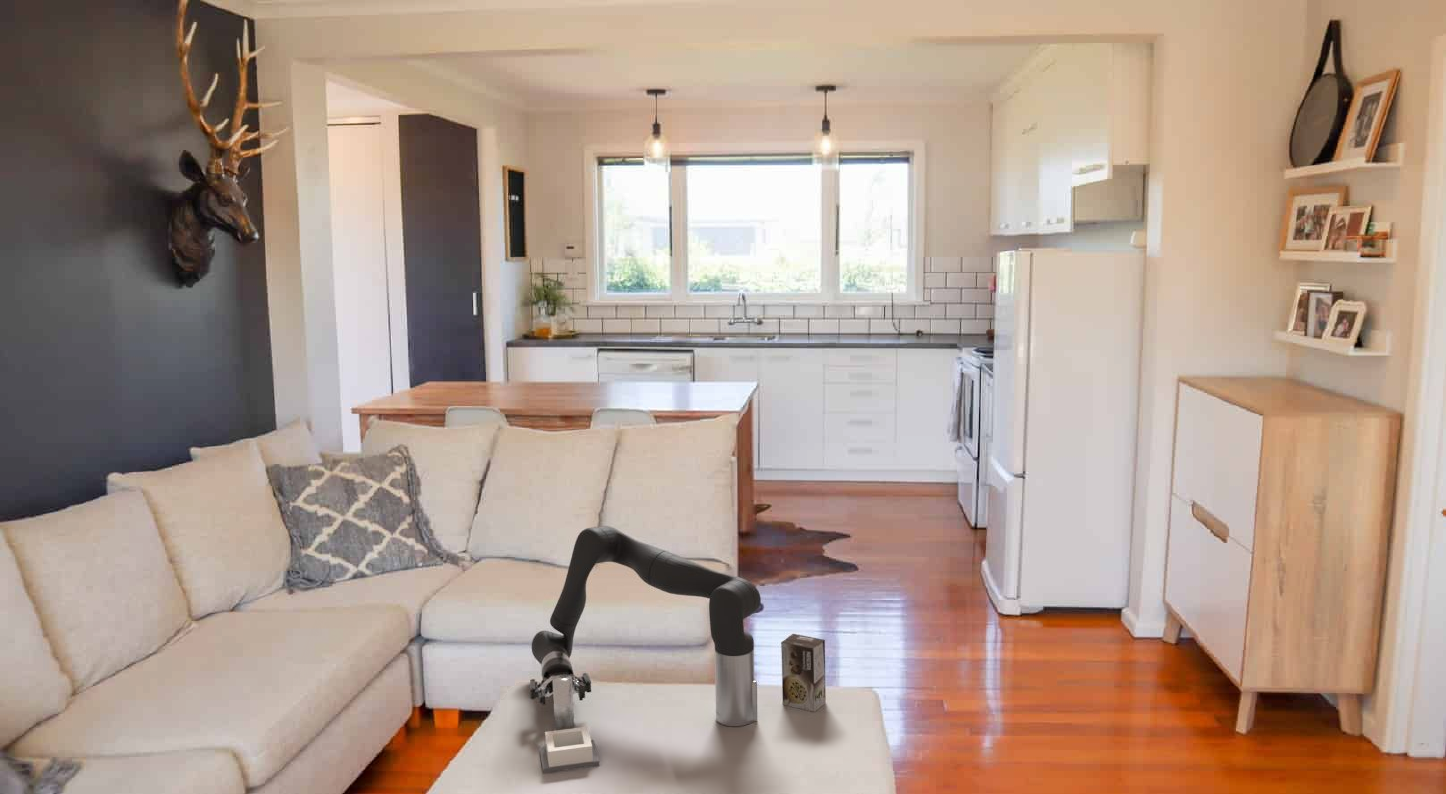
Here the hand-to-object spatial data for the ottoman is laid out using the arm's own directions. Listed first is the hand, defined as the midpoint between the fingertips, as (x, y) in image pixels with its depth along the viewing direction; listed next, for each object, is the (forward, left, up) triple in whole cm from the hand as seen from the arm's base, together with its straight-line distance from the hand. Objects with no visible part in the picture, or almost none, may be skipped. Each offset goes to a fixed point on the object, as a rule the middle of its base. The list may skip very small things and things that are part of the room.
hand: (562, 698), depth 237 cm
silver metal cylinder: (0, +3, -8) cm, 8 cm away
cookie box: (-58, +2, -8) cm, 59 cm away
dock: (0, +13, -8) cm, 15 cm away
